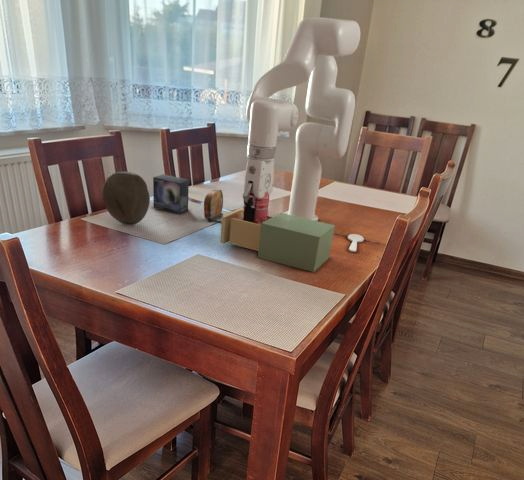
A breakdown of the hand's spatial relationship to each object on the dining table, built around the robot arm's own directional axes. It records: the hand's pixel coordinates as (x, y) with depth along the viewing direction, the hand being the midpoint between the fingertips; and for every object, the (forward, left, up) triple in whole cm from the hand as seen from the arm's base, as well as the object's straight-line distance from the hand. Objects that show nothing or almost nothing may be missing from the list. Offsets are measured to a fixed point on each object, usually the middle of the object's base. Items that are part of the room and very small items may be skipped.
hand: (254, 217), depth 137 cm
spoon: (-26, +25, -9) cm, 37 cm away
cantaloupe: (+7, -39, -9) cm, 41 cm away
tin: (-18, -23, -9) cm, 31 cm away
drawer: (0, -2, -8) cm, 8 cm away
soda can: (0, 0, -5) cm, 5 cm away
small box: (-15, -38, -9) cm, 42 cm away
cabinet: (0, +14, -9) cm, 16 cm away
